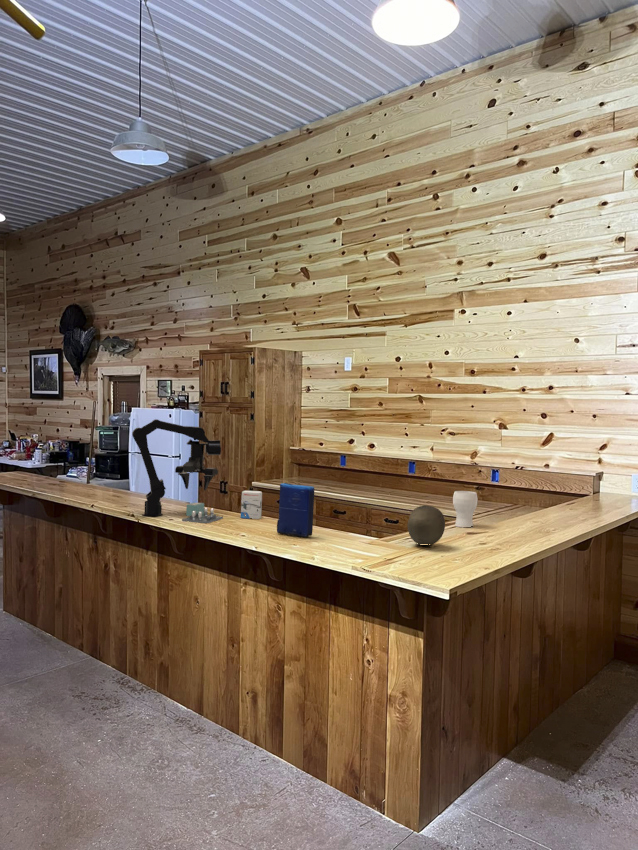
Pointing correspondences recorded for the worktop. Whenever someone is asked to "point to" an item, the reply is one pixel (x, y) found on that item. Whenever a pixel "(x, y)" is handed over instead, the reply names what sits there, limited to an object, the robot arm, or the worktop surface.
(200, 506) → the block
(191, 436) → the robot arm
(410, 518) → the dark grey sphere
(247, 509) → the ink box
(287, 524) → the book
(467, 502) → the cup
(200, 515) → the metal plate device
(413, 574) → the worktop surface
